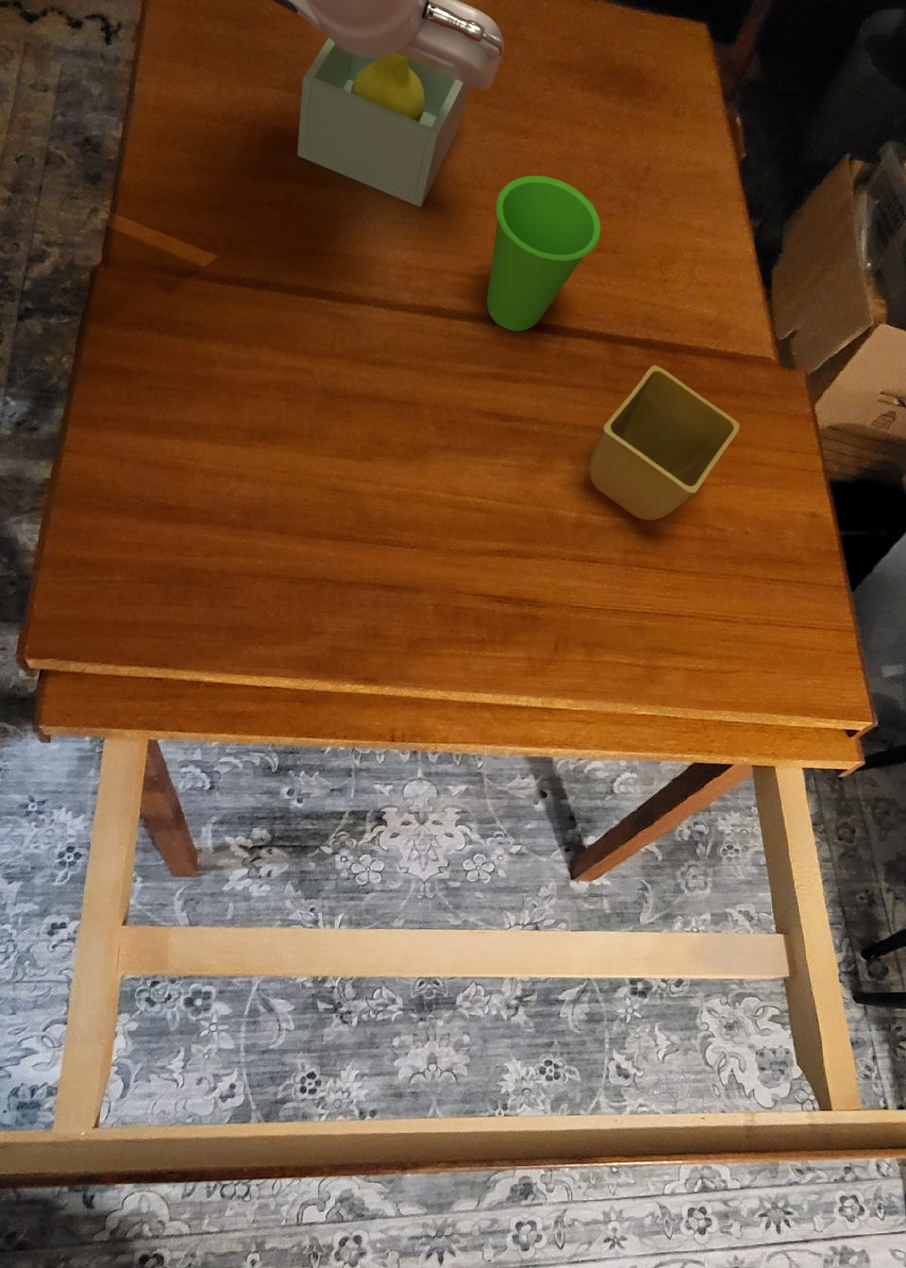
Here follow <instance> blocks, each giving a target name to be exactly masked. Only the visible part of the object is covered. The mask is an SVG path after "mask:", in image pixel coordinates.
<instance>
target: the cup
mask: <svg viewBox="0 0 906 1268" xmlns="http://www.w3.org/2000/svg"><path fill="white" fill-rule="evenodd" d="M495 212H496V213H495V214H496V217H497V222H496V228H495V235H494V236H495V237H494V243H493V251H492V258H491V264H490V265H491V267H490V273H489V279H488V280H489V281H488V287H487V294H486V307H487V312H488V314H489V316H490V317H491V319H492V320H493V321H494V322H495V323H496V324H497V325H499V326H500V327H501V328H504V329H506V330H509V331H513V332H521V331H526V330H529V329H531V328H532V327H533V326H535V325H536V324H537V323H539V322H540V319H541V318H542V317H543V315H544V314H545V312H546V311H547V309H548V308H549V307H550V305H552V303H553V301H554V300H555V298H556V297H557V295H558V294H559V293H560V291H561V290H562V288H563V287H564V286H565V285H566V282H567V281H568V280H569V279H570V277H571V275H572V274H573V273H574V272H575V270H576V269H577V267H578V266H579V264H580V263H581V261H582V260H583V259H584V257H585V256H587V255H588V254H589V253H591V252H592V251H593V250H595V248H596V247H597V245H598V243H599V241H600V237H601V232H602V231H601V230H602V229H601V221H600V217H599V215H598V213H597V210H596V208H595V207H594V205H593V204H592V203H591V201H590V200H589V199H588V198H587V197H586V196H585V195H584V194H583V193H582V192H581V191H580V190H578V189H577V188H575V187H574V186H572V185H570V184H569V183H566V182H564V181H562V180H560V179H557V178H553V177H548V176H543V175H529V176H522V177H519V178H516V179H514V180H512V181H511V182H509V183H508V184H506V185H505V186H504V187H503V188H502V189H501V190H500V192H499V193H498V195H497V199H496V202H495Z"/></svg>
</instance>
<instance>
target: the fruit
mask: <svg viewBox="0 0 906 1268" xmlns="http://www.w3.org/2000/svg"><path fill="white" fill-rule="evenodd" d="M350 93H352V94H354V95H357V96H359V97H361V98H364V99H366V100H368V101H371V102H373V103H375V104H378V105H380V106H382V107H385V108H387V109H389V110H392V111H394V112H396V113H399V114H401V115H403V116H406V117H408V118H410V119H413V120H415V121H418V122H419V121H420V119H421V117H422V115H423V111H424V107H425V95H424V90H423V86H422V84H421V82H420V80H419V78H418V77H417V75H416V74H415V73H414V72H413V71H412V70H411V69H410V68H409V67H408V63H407V58H406V57H404V56H402V55H400V54H397V53H393V54H391V55H388V56H385V57H380V58H378V59H377V60H376V61H375V62H374V63H371V64H369V65H368V66H366V67H365V68H363V69H362V70H361V71H360V72H359V73H358V75H357V77H356V78H355V80H354V82H353V85H352V88H351V92H350Z"/></svg>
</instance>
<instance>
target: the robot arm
mask: <svg viewBox="0 0 906 1268" xmlns="http://www.w3.org/2000/svg"><path fill="white" fill-rule="evenodd" d="M271 1H272V2H274V3H275V4H278V5H280V6H282V7H283V8H286V9H287V10H289V11H290V12H292V13H294V14H296V15H298V16H300V17H301V18H303V19H304V20H305V21H306V22H307V23H309V24H310V25H311V26H313V27H314V29H316V31H318V32H319V33H321V34H326V36H327V37H328V38H330V39H331V40H332V41H333V42H334V43H335V44H336V45H337V46H339V47H340V48H341V49H343V50H344V51H346V52H348V53H350V54H353V55H355V56H359V57H363V58H380V57H385V56H388V55H391V54H393V53H397V54H400V55H402V56H404V57H406V58H409V59H411V60H413V61H415V62H418V63H420V64H422V65H425V66H427V67H429V68H431V69H433V70H435V71H438V72H440V73H442V74H445V75H447V76H450V77H452V78H454V79H456V80H459V81H461V82H463V83H465V84H468V85H469V87H472V88H474V89H477V90H482V91H486V90H487V91H488V90H489V89H491V87H492V85H493V83H494V81H495V78H496V75H497V72H498V70H499V66H500V63H501V61H502V58H503V55H504V50H505V43H504V38H503V36H502V33H501V30H500V28H499V26H498V25H497V23H496V22H495V21H494V20H493V19H492V18H491V17H490V16H489V15H487V14H486V13H484V12H482V11H481V10H479V9H477V8H475V7H473V6H471V5H469V4H466V3H464V2H462V1H459V0H271Z"/></svg>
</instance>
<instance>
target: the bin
mask: <svg viewBox="0 0 906 1268" xmlns="http://www.w3.org/2000/svg"><path fill="white" fill-rule="evenodd" d="M377 59H378V58H363V57H359V56H355V55H353V54H350V53H348V52H346V51H344V50H343V49H341V48H340V47H339V46H337V45H336V44H335V43H334V42H333V41H332V40H331V39H330V38H329V37H328V38H327V40H326V41H325V42H324V44H323V46H322V47H321V49H320V51H319V53H318V54H317V55H316V57H315V59H314V60H313V62H312V63H311V65H310V66H309V68H308V70H307V72H305V75H304V76H303V78H302V82H301V83H302V85H301V99H300V114H299V126H298V140H297V141H298V142H297V152H296V153H297V157H300V158H302V159H304V160H306V161H309V162H311V163H313V164H316V165H319V166H321V167H323V168H325V169H328V170H330V171H333V172H335V173H337V174H339V175H340V174H341V175H342V176H345V177H347V178H350V179H352V180H354V181H357V182H359V183H361V184H363V185H367V186H369V187H371V188H373V189H375V190H379V191H380V192H383V193H386V194H388V195H390V196H391V197H392V196H393V197H394V198H397V199H400V200H402V201H404V202H407V203H409V204H411V205H414V206H415V207H418V208H422V207H423V204H424V202H425V200H426V198H427V196H428V193H429V192H430V189H431V187H432V185H433V183H434V181H435V179H436V177H437V175H438V173H439V170H440V168H441V166H442V164H443V162H444V160H445V158H446V156H447V153H448V152H449V150H450V147H451V145H452V143H453V142H454V139H455V138H456V135H457V133H458V131H459V129H460V124H461V121H462V118H463V113H464V109H465V105H466V101H467V97H468V93H469V89H470V85H468V84H465V83H463V82H461V81H459V80H456V79H454V78H452V77H450V76H447V75H445V74H442V73H440V72H438V71H435V70H433V69H431V68H429V67H427V66H425V65H422V64H420V63H418V62H415V61H413V60H411V59H409V58H407V63H408V67H409V68H410V69H411V70H412V71H413V72H414V73H415V74H416V75H417V77H418V78H419V80H420V82H421V84H422V86H423V90H424V95H425V107H424V111H423V115H422V117H421V119H420V121H419V122H418V121H415V120H413V119H410V118H408V117H406V116H403V115H401V114H399V113H396V112H394V111H392V110H389V109H387V108H385V107H382V106H380V105H378V104H375V103H373V102H371V101H368V100H366V99H364V98H361V97H359V96H357V95H354V94H352V93H350V92H351V88H352V85H353V82H354V80H355V78H356V77H357V75H358V73H359V72H360V71H361V70H362V69H363V68H365V67H366V66H368V65H369V64H371V63H374V62H375V61H376V60H377Z"/></svg>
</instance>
